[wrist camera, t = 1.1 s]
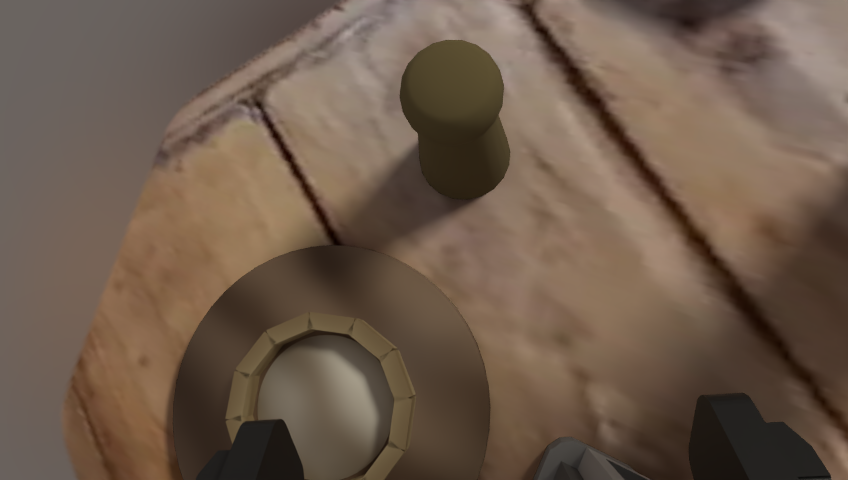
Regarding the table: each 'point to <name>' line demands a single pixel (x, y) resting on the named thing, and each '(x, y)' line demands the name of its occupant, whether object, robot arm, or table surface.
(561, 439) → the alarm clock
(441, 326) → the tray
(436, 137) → the cork
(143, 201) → the table surface
